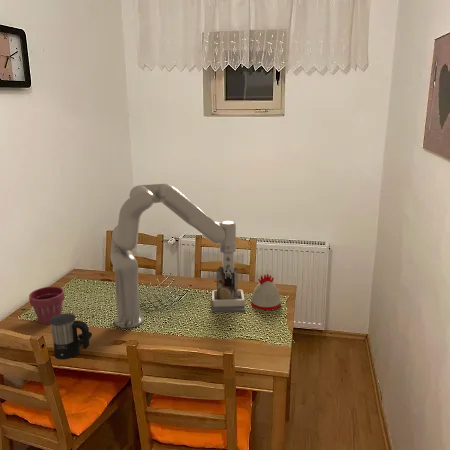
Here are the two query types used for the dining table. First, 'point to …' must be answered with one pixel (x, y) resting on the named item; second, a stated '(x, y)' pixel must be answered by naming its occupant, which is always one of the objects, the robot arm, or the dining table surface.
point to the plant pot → (47, 303)
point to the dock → (228, 303)
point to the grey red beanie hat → (265, 295)
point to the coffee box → (223, 291)
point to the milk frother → (68, 336)
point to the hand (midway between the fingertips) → (227, 282)
